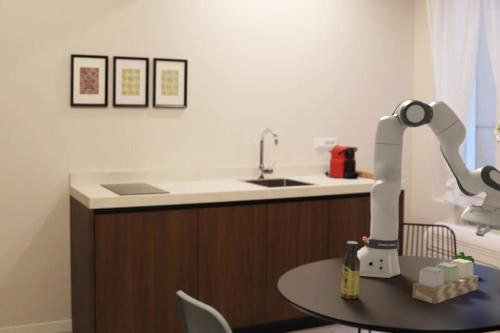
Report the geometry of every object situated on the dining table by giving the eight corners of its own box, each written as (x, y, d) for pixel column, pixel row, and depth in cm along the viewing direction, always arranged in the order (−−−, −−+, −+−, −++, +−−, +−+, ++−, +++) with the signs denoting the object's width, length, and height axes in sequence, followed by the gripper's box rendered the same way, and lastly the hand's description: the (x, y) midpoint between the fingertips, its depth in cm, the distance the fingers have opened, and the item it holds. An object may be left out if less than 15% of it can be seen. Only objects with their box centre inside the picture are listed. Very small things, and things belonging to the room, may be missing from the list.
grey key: (428, 285, 221) (429, 266, 220) (443, 289, 217) (444, 269, 216) (418, 288, 217) (419, 268, 217) (433, 292, 213) (434, 272, 212)
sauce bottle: (338, 294, 219) (341, 239, 218) (356, 294, 220) (358, 239, 218) (343, 300, 213) (345, 243, 211) (360, 300, 213) (363, 244, 212)
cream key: (457, 276, 234) (458, 258, 234) (472, 279, 230) (473, 261, 229) (449, 278, 230) (450, 260, 230) (464, 282, 226) (465, 263, 225)
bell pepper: (464, 271, 255) (465, 248, 254) (477, 277, 247) (479, 252, 246) (447, 273, 252) (448, 249, 251) (460, 278, 244) (461, 253, 243)
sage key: (443, 280, 228) (444, 261, 227) (458, 284, 223) (459, 265, 223) (434, 283, 224) (435, 264, 223) (449, 287, 219) (450, 267, 219)
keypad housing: (455, 283, 237) (456, 271, 236) (477, 289, 230) (478, 276, 230) (412, 297, 218) (413, 283, 217) (434, 304, 211) (435, 289, 210)
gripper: (466, 199, 248) (452, 225, 243) (516, 206, 233) (502, 234, 228) (471, 209, 252) (457, 235, 246) (520, 216, 236) (507, 244, 231)
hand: (479, 235), depth 237 cm, fingers closed
